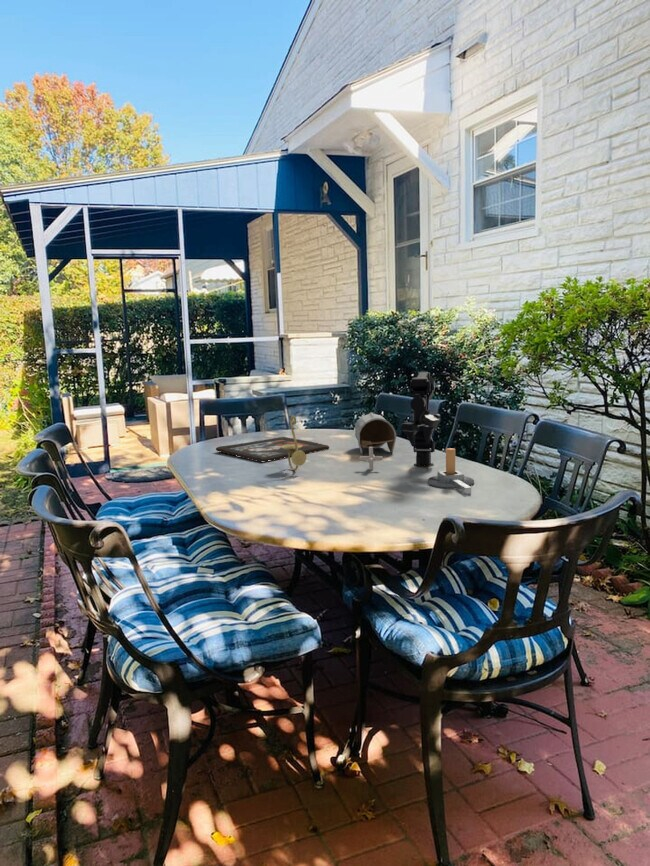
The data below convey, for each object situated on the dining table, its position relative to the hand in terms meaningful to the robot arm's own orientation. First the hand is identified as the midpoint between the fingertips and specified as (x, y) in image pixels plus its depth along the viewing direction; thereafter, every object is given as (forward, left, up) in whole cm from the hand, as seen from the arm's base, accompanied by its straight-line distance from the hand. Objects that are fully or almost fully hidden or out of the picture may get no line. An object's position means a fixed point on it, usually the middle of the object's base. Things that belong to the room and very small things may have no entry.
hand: (420, 444), depth 271 cm
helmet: (-23, -48, -12) cm, 54 cm away
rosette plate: (+8, +24, -12) cm, 28 cm away
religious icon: (+10, -89, -13) cm, 90 cm away
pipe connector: (+9, -20, -12) cm, 25 cm away
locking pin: (+6, +20, -11) cm, 24 cm away
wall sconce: (+32, -45, -12) cm, 57 cm away
